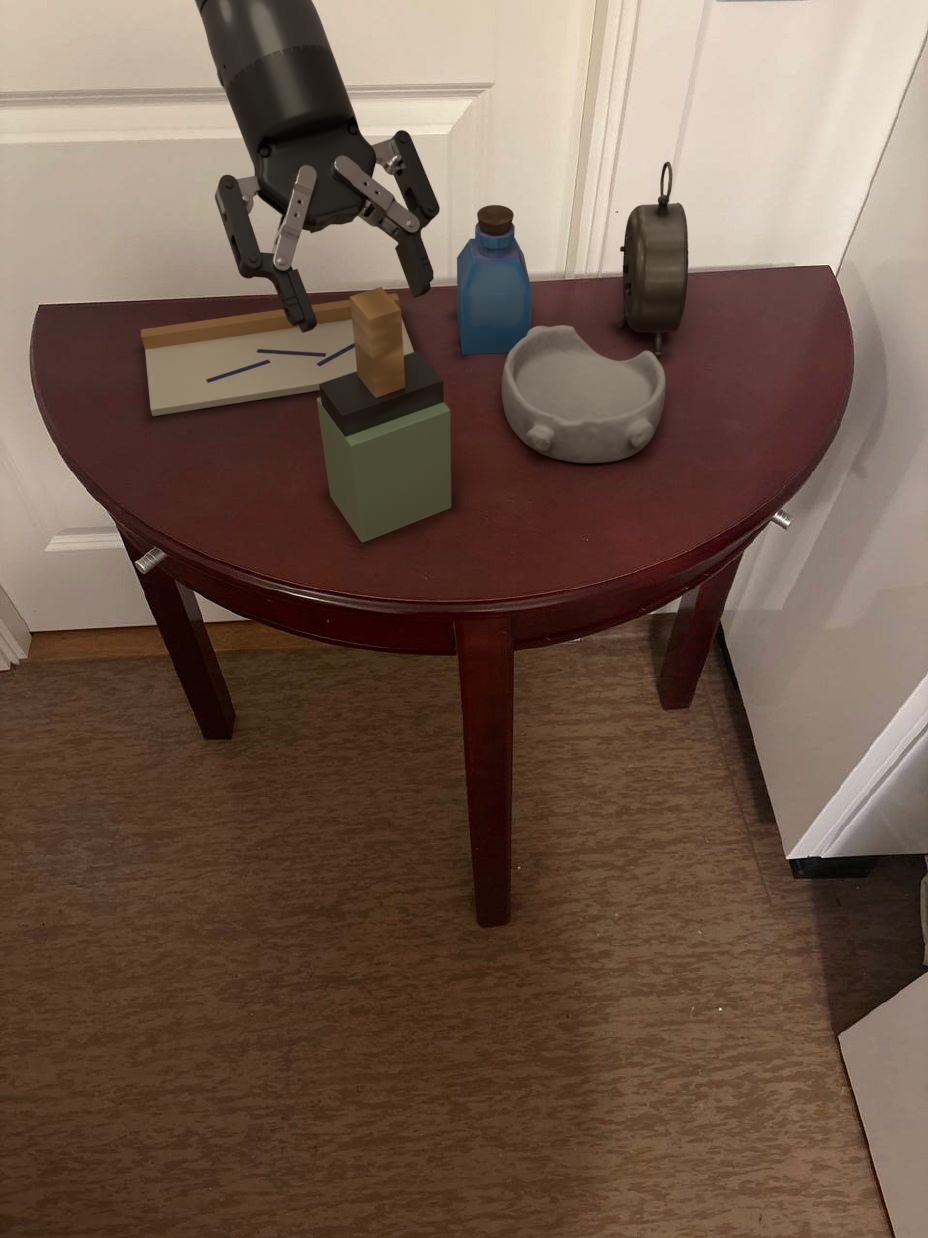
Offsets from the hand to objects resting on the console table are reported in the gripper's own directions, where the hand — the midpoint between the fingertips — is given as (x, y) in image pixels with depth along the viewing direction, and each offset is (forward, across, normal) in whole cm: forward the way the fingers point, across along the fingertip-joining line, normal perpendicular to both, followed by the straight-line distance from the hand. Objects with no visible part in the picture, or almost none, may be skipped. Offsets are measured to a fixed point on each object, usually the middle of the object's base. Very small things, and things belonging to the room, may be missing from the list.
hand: (367, 310), depth 69 cm
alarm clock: (+7, +32, +18) cm, 37 cm away
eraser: (+6, 0, +4) cm, 7 cm away
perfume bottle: (+2, +19, +22) cm, 29 cm away
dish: (+12, +19, +12) cm, 26 cm away
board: (-2, 0, +26) cm, 26 cm away
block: (+13, 0, +11) cm, 17 cm away
